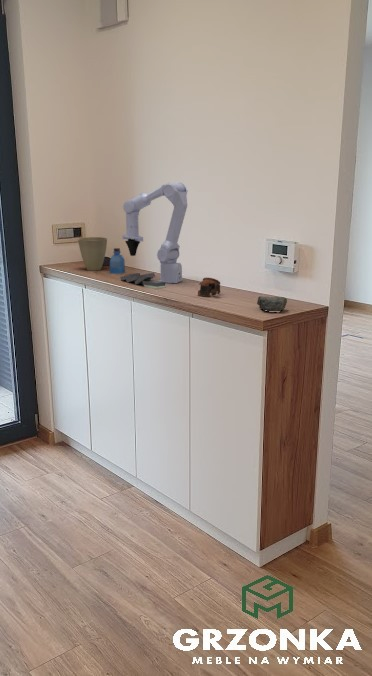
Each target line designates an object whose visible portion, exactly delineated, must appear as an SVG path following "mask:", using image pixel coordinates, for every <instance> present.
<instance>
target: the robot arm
mask: <svg viewBox="0 0 372 676" xmlns="http://www.w3.org/2000/svg"><path fill="white" fill-rule="evenodd" d="M187 195H188V189H187V186H185V184H184V183H183V182H176V183H175V182H167V183H165V184H162V185H161V186H159V187H157V188H156V189H154V190H152V191H151V192H149V193H145V192H141V193H139V195H138V196H135V197H132V199H131V200H130V199H127V200H125V201H124V202H123V205H122V208H123V210H124V213H125V227H126V228H125V233H126V234H122V236H121V237H122V240H125V244H126V246H127V248H128V251H129V255H130V256H131V257H134V256H136V255H137V250H138V247H139V245H140V243H141V242H144V237H143V236H141V235H140V233H139V216H140V211H141V209H144V208H146V207H148V206H150V205H151V204H152V201H155V200H156V199H158V198H161V197H164V196H165V198H166V199H168V201H169V202H170V203H172V205H173V210H172V214H171V218H170V222H169V225H168V229H167V233H166V237H165V240H164V241H163V242H162V243H161V245H160V247H159V249H158V250H157V253H156V256H157V259H158V261H159V263H160V279H159V280H157V281H164V282H165V284H166V283H168V284H177V283H181V282H183V266H182V264H181V262H178V261H177V260H178V259H179V258H180V244H179V243H178V241H179V238H180V235H181V230H182V226H183V224H184V219H185V216H186V212H187V208H188V197H187Z"/></svg>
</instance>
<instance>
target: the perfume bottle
mask: <svg viewBox="0 0 372 676" xmlns="http://www.w3.org/2000/svg"><path fill="white" fill-rule="evenodd" d="M125 260H126V259H125V258H124V256H123V255H122V254H121V249H120V248H118V247H117V248H116V247H115V248H113V255H112V256H111V258H110V260H109V274H110V275H111V274H113V275H114V274H115V275H116V274H117V275H119V274H121V275H122V274H124V273H125V268H126V267H125V264H126V263H125Z"/></svg>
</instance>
